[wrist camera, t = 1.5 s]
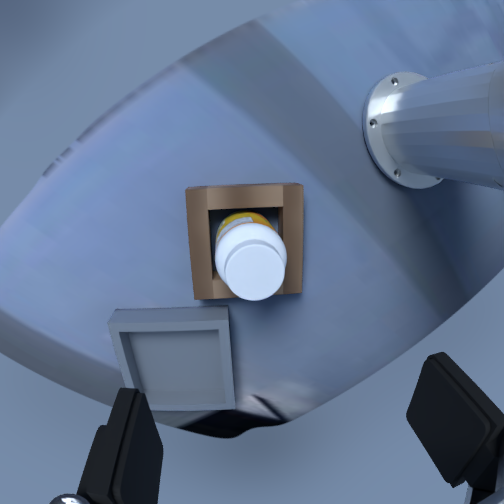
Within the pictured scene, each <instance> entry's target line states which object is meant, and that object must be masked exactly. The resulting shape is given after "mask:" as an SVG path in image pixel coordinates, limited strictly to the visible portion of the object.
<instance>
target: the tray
mask: <svg viewBox="0 0 504 504" xmlns="http://www.w3.org/2000/svg"><path fill="white" fill-rule="evenodd" d="M108 327H109V331H110V335H111V339H112V342H113V346H114V350H115V353H116V356H117V360H118V363H119V367H120V370H121V373H122V376H123V379H124V382H125V385H126V388H137V389H139V391H140V393H145V395H146V397H147V401H148V404H149V407H150V410H162V411H196V410H224V409H236V408H235V395H234V383H233V371H232V359H231V346H230V332H229V318H228V305H223V306H204V307H182V308H152V309H116V310H115V311H114V313H113V315H112V316H111V318H110V319H109V321H108Z"/></svg>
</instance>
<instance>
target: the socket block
mask: <svg viewBox="0 0 504 504" xmlns="http://www.w3.org/2000/svg"><path fill="white" fill-rule="evenodd" d="M185 193H186V209H187V223H188V236H189V248H190V259H191V270H192V280H193V290H194V299H195V300H199V299H219V298H236V297H239V296H237V295H236V294H234V293H233V292H232V291H231V289H230V288H229V286H228V285H227V284H226V283H225V282H224V281H223V280H222V279H221V277H220V275H219V274H218V271H213V263H212V248H211V232H210V216H209V210H213V209H232V208H255V207H278V235H279V236H280V238H281V239H282V241H283V243H284V245H285V248H286V253H287V263H286V267H285V275H284V280H283V282H282V284H281V286H280V288H279V289H278V290H277V291H276V292H275V293H274V294H273V295H281V294H294V293H302V268H303V185H301V184H298V183H266V184H238V185H217V186H200V187H188V188H187V189H186V190H185Z"/></svg>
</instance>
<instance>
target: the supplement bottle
mask: <svg viewBox="0 0 504 504" xmlns="http://www.w3.org/2000/svg"><path fill="white" fill-rule="evenodd" d="M215 263H216V268H217V271H218V274H219V275H220V277H221V279H222V280H223V281H224V282H225V283H226V284H227V285H228V286H229V288H230V289H231V291H232V292H233V293H234V294H236V295H237V296H239V297H240V298H242V299H245V300H251V301H257V300H262V299H265V298H268V297H270V296H271V295H273V294H274V293H275V292H276V291H277V290H278V289H279V288H280V286H281V284H282V282H283V280H284V275H285V267H286V263H287V253H286V248H285V245H284V243H283V241H282V239H281V238H280V236H279V235H278V233H277V232H276V231H275V229H274V228H273V227H272V225H271V224H270V223H269V221H268V220H267V219H266V218H265V217H264V216H262V215H261V214H259V213H257V212H255V211H251V210H241V211H236V212H234V213H232V214H230V215H228V216H227V217H226V218H225V219H224V220H223V221H222V222H221V224H220V226H219V228H218V231H217V235H216V250H215Z"/></svg>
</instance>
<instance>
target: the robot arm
mask: <svg viewBox="0 0 504 504" xmlns="http://www.w3.org/2000/svg"><path fill="white" fill-rule="evenodd" d="M370 122H371V124H372V125H370ZM363 132H364V138H365V141H366V145H367V148H368V150H369V152H370V154H371V156H372V158H373V160H374V162H375V163H376V165H377V166H378V167H379V169H380V170H381V171H382V172H383V173H384V174H385V175H386V176H387V177H388V178H390V179H391V180H393V181H394V182H395V183H397V184H400V185H402V186H405V187H409V188H413V189H424V188H429V187H432V186H434V185H436V184H438V183H440V182H441V181H442V180H443V179H450V180H455V181H460V182H466V183H471V184H476V185H480V186H485V187H490V188H494V189H499V190H503V191H504V61H501V62H496V63H491V64H486V65H481V66H477V67H473V68H468V69H464V70H460V71H456V72H452V73H448V74H444V75H440V76H437V77H433V78H429V79H428V78H426V77H425V76H423V75H420V74H417V73H413V72H397V73H394V74H391V75H389V76H387V77H385V78H383V79H381V80H380V81H379V82H378V83H377V84H376V85H375V86H374V87H373V88H372V90H371V91H370V93H369V94H368V97H367V100H366V102H365V106H364V111H363ZM394 171H395V174H394ZM406 417H407V421H408V422H409V424H410V426H411V427H412V429H413V430H414V432H415V433H416V435H417V437H418V438H419V440H420V441H421V443H422V444H423V446H424V448H425V449H426V451H427V452H428V454H429V456H430V457H431V459H432V461H433V462H434V464H435V465H436V467H437V468H438V470H439V472H440V474H441V475H442V477H443V478H444V480H445V481H446V482H447V483H450V484H451V486H452V488H454V487H456V486H458V485H460V484H462V483H464V482H465V480H466V481H467V483H468V488H467V493H466V498H465V503H464V504H504V414H503V413H502V412H501V410H500V409H499V408H498V407H497V406H496V405H495V404H494V403H493V402H492V401H491V400H490V399H489V397H487V396H486V394H485V393H484V392H483V391H482V390H481V389H480V388H479V387H478V386H477V385H476V384H475V383H474V382H473V381H472V379H471V378H470V377H469V376H468V375H467V374H466V373H465V372H464V371H463V370H462V369H461V368H460V367H459V366H458V365H457V364H456V363H455V362H454V361H453V360H452V359H451V358H450V357H449V356H448V355H447V354H446V353H444V352H440V353H436V354H433V355H430V356H428V357H427V360H426V361H425V362H424V364H423V367H422V370H421V373H420V376H419V379H418V382H417V385H416V388H415V391H414V394H413V397H412V400H411V402H410V405H409V407H408V410H407V413H406ZM162 460H163V445H162V442H161V439H160V436H159V434H158V431H157V428H156V425H155V422H154V419H153V416H152V413H151V410H150V407H149V404H148V401H147V397H146V395H145V393H140V391H139V389H137V388H120V389H119V391H118V394H117V397H116V400H115V402H114V405H113V408H112V411H111V414H110V417H109V420H108V423H107V425H101V426H100V427H99V428H98V430H97V432H96V435H95V438H94V441H93V444H92V446H91V449H90V452H89V455H88V459H87V462H86V465H85V468H84V471H83V474H82V477H81V481H80V484H79V487H78V491H77V494H62V495H59V496H57V497H55V498H54V499H53V500H52V501H51V502H50V503H49V504H157V503H158V494H159V485H160V476H161V468H162Z"/></svg>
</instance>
